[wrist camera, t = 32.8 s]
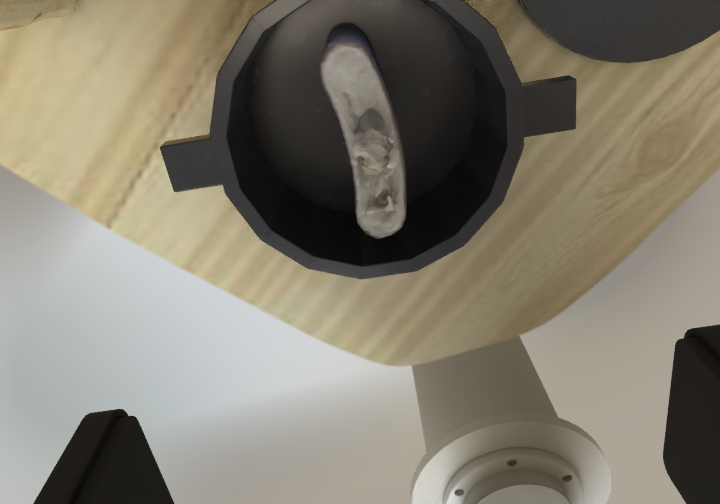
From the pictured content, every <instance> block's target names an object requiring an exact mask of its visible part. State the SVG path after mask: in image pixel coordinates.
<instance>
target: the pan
mask: <svg viewBox="0 0 720 504" xmlns="http://www.w3.org/2000/svg"><path fill="white" fill-rule="evenodd" d="M344 23H352V24H354V25H356V26H357V27H359V28H360V29H361V30H362V31H363V32H364V33H365V34H366V35H367V37H368V38H369V41H370V43H371V45H372V48H373V50H374V52H375V55H376V58H377V61H378V64H379V67H380V69H381V72H382V75H383V77H384V81H385V85H386V88H387V91H388V93H389V97H390V100H391V103H392V106H393V110H394V113H395V117H396V121H397V124H398V128H399V133H400V138H401V142H402V148H403V153H404V160H405V169H406V205H407V208H406V218H405V221H404V223H403V226H402V228H401V229H400V230H399V231H397V232H396V233H394V234H392V235H390V236H387V237H383V238H379V239H375V238H374V237H372V236H370V235H368V234H366V233H365V232H364V231H363V230H362V228H361V227H360V225H359V224H358V222H357V216H356V208H355V188H354V182H353V174H352V167H351V164H350V161H349V155H348V152H347V148H346V145H345V139H344V137H343V135H342V129H341V126H340V123H339V120H338V117H337V115H336V113H335V111H334V109H333V106H332V104H331V102H330V100H329V98H328V97H327V95H326V93H325V91H324V89H323V86H322V83H321V78H320V61H321V59H322V57H323V54H324V52H325V45H326V39H327V36H328V34H329V33H330V31H331V30H332V28H334V27H335V26H337V25H339V24H344ZM573 129H576V79H575V78H573V77H571V76H563V77H557V78H550V79H544V80H538V81H532V82H526V83H521V81H520V79H519V77H518V75H517V73H516V71H515V69H514V66H513V64H512V62H511V60H510V58H509V56H508V54H507V51H506V49H505V47H504V45H503V43H502V41H501V39H500V37H499V34H498V32H497V30H496V28H495V27H494V26H493V25H492V24H491V23H490V22H489V21H487V20H486V19H485V18H484V17H483V16H482V15H480V14H479V13H478V12H477V11H476V10H474V9H473V8H472V7H471V6H470V5H469V4H467V3H466V2H465V1H464V0H275V1H273V2H272V3H270V4H269V5H267V6H266V7H264V8H263V9H262V10H260V11H259V12H257V13H256V14H254V15H253V16H252V18H250V20H249V21H248V23H247V25H246V26H245V28H244V30H243V31H242V33H241V35H240V36H239V38H238V40H237V41H236V43H235V45H234V46H233V48H232V50H231V51H230V53H229V55H228V56H227V58H226V60H225V61H224V63H223V65H222V67H221V68H220V70H219V72H218V74H217V79H216V87H215V95H214V103H213V111H212V119H211V127H210V134H208V135H202V136H196V137H190V138H184V139H178V140H172V141H166V142H165V143H164V144H162V145H161V146H160V150H161V153H162V156H163V159H164V162H165V165H166V168H167V171H168V175H169V178H170V181H171V184H172V187H173V190H174V192H180V191H187V190H193V189H199V188H205V187H212V186H218V185H223V187H224V191H225V194H226V195H227V197H228V198H229V199H230V201H231V202H232V203H233V205H234V206H235V207H236V208H237V210H238V211H239V212H240V214H241V215H242V216H243V218H244V219H245V220H246V221H247V223H248V224H249V225H250V227H251V228H252V229H253V231H254V232H255V233H256V235H257V236H258V237H259V238H260V239H261V240H262V241H263V242H265V243H267V244H268V245H270V246H272V247H273V248H275V249H277V250H278V251H280V252H281V253H283V254H285V255H286V256H288V257H290V258H291V259H293V260H294V261H296V262H298V263H299V264H301V265H303V266H304V267H306V268H308V269H312V270H317V271H322V272H327V273H332V274H337V275H342V276H347V277H352V278H357V279H367V278H374V277H381V276H387V275H394V274H401V273H408V272H414V271H418V270H420V269H421V268H423V267H425V266H427V265H429V264H431V263H433V262H435V261H436V260H438V259H440V258H442V257H444V256H446V255H448V254H449V253H451V252H453V251H455V250H457V249H459V248H461V247H463V246H464V245H465V244H466V243H467V242H468V241H469V240H470V239H471V238H472V237H473V235H474V234H475V233H476V232H477V231H478V230H479V229H480V228H481V226H482V225H483V224H484V223H485V222H486V221H487V220H488V219H489V217H490V216H491V215H492V214H493V213H494V212H495V211H496V210H497V208H498V207H499V206H500V205H501V204H502V202H503V201H504V199H505V196H506V193H507V191H508V188H509V185H510V183H511V180H512V177H513V175H514V172H515V169H516V167H517V164H518V161H519V159H520V156H521V153H522V151H523V147H524V137H529V136H535V135H541V134H548V133H554V132H560V131H567V130H573Z"/></svg>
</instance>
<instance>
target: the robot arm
mask: <svg viewBox="0 0 720 504" xmlns="http://www.w3.org/2000/svg"><path fill="white" fill-rule="evenodd" d="M663 460H664V464H665V468H666V471H667V473H668V475H669V477H670V479H671V480H672V482H673V483H674V485H675V487H676V488H677V490H678V491H679V493H680V494H681V496H682V497H683V499H684V501H685V502H686V504H720V325H714V326H707V327H700V328H692V329H690V330H687V332H686V333H685V336H684V339H679V340H678V341H677V342H676V345H675V352H674V361H673V370H672V379H671V388H670V397H669V406H668V415H667V424H666V432H665V442H664V451H663ZM583 498H584V495H583V487H582V485H581V483H580V480H579V478H578V476H577V474H576V472H575V471H574V469H573V468H572V467H571V466H570V465H569V464H568V463H567V462H566V461H565V460H564V459H562V458H560V457H559V456H557V455H555V454H552V453H550V452H547V451H544V450H539V449H534V448H510V449H503V450H499V451H495V452H491V453H489V454H486V455H483V456H481V457H479V458H477V459H475V460H474V461H472V462H470V463H468V464H467V465H466V466H464V467H463V468H462V469H461V470H460V471H458V472H457V474H456V475H455V476H454V477H453V478H452V479H451V481H450V483H449V484H448V486H447V488H446V491H445V494H444V498H443V504H583ZM34 504H174V502H173V500H172V497H171V495H170V493H169V490H168V488H167V486H166V483H165V481H164V479H163V477H162V474H161V472H160V470H159V467H158V465H157V463H156V461H155V458H154V456H153V454H152V451H151V449H150V447H149V444H148V442H147V440H146V438H145V435H144V433H143V431H142V428H141V426H140V424H139V422H138V420H137V418H136V417H134V416H128V414H127V413H126V412H125V411H124V410H123V409H117V410H109V411H102V412H95V413H89V414H88V415H86V416H85V417H84V418H83V420H82V421H81V423H80V425H79V426H78V428H77V430H76V431H75V433H74V435H73V437H72V438H71V440H70V442H69V444H68V445H67V447H66V449H65V451H64V452H63V454H62V456H61V457H60V459H59V461H58V462H57V464H56V466H55V467H54V469H53V471H52V473H51V474H50V476H49V478H48V480H47V481H46V483H45V485H44V486H43V488H42V490H41V492H40V493H39V495H38V497H37V498H36V500H35V502H34Z"/></svg>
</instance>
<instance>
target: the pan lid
mask: <svg viewBox="0 0 720 504" xmlns="http://www.w3.org/2000/svg"><path fill="white" fill-rule="evenodd" d="M519 1H520V3H521V5H522V7H523V8H524V10H525V11H526V12H527V14H528V15H529V16H530V18H531V19H532V21H533V22H534V23H535V24H536V25H537V26H538V27H539V28H540V29H541V30H542V31H543V32H544V33H545V34H546V35H548V36H549V37H550V38H552V39H553V40H554V41H556V42H557V43H558V44H560V45H562V46H564V47H566V48H567V49H569V50H571V51H573V52H575V53H578V54H581V55H584V56H587V57H590V58H592V59H597V60H602V61H608V62H622V63H632V62H642V61H649V60H654V59H658V58H662V57H666V56H669V55H672V54H675V53H677V52H680V51H683V50H685V49H687V48H689V47H691V46H693V45H695V44H697V43H699V42H701V41H703V40H705V39H706V38H708V37H710V36H711V35H713V34H714V33H716V32H717V31H719V30H720V0H519Z"/></svg>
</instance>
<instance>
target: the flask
mask: <svg viewBox="0 0 720 504" xmlns="http://www.w3.org/2000/svg"><path fill="white" fill-rule="evenodd" d="M320 78H321V83H322V86H323V89H324V91H325V93H326V95H327V97H328V98H329V100H330V102H331V104H332V106H333V109H334V111H335V113H336V115H337V117H338V120H339V123H340V126H341V129H342V135H343V137H344V139H345V145H346V148H347V152H348V155H349V161H350V164H351V167H352V174H353V182H354V188H355V208H356V216H357V222H358V224H359V225H360V227H361V228H362V230H363V231H364V232H365V233H366V234H368V235H370V236H372V237H374V238H375V239H379V238H383V237H387V236H390V235H392V234H394V233H396V232H397V231H399V230H400V229H401V228H402V226H403V223H404V221H405V218H406V208H407V205H406V169H405V160H404V153H403V148H402V142H401V138H400V133H399V128H398V124H397V121H396V117H395V113H394V110H393V106H392V103H391V100H390V97H389V93H388V91H387V88H386V85H385V81H384V77H383V75H382V72H381V69H380V67H379V64H378V61H377V58H376V55H375V52H374V50H373V48H372V45H371V43H370V41H369V38H368V37H367V35H366V34H365V33H364V32H363V31H362V30H361V29H360V28H359V27H357V26H356V25H354V24H352V23H344V24H339V25H337V26H335V27H334V28H332V30H331V31H330V33H329V34H328V36H327V39H326V45H325V52H324V54H323V57H322V59H321V61H320Z"/></svg>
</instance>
